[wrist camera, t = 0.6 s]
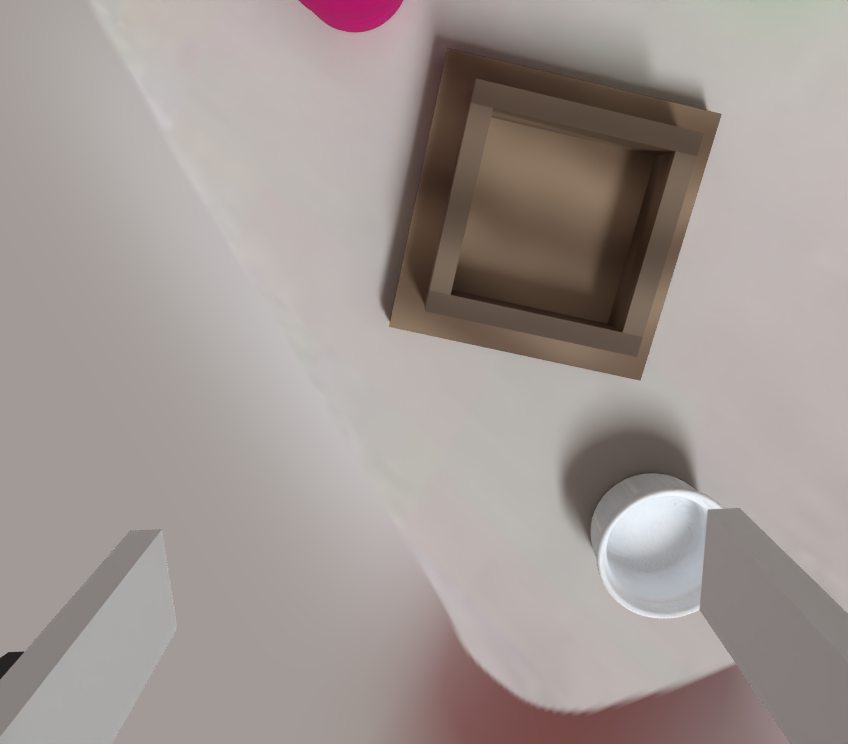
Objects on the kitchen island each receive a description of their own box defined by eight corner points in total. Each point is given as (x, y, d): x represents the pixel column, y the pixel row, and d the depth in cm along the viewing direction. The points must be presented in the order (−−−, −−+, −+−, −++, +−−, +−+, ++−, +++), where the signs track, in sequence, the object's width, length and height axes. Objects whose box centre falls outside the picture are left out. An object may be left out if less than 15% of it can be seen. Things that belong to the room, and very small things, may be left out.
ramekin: (554, 528, 45) (569, 561, 41) (649, 437, 44) (674, 461, 39) (643, 605, 46) (665, 644, 42) (737, 520, 45) (770, 551, 41)
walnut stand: (446, 54, 38) (450, 33, 33) (710, 117, 39) (747, 105, 34) (390, 322, 41) (386, 335, 37) (632, 374, 42) (657, 393, 38)
